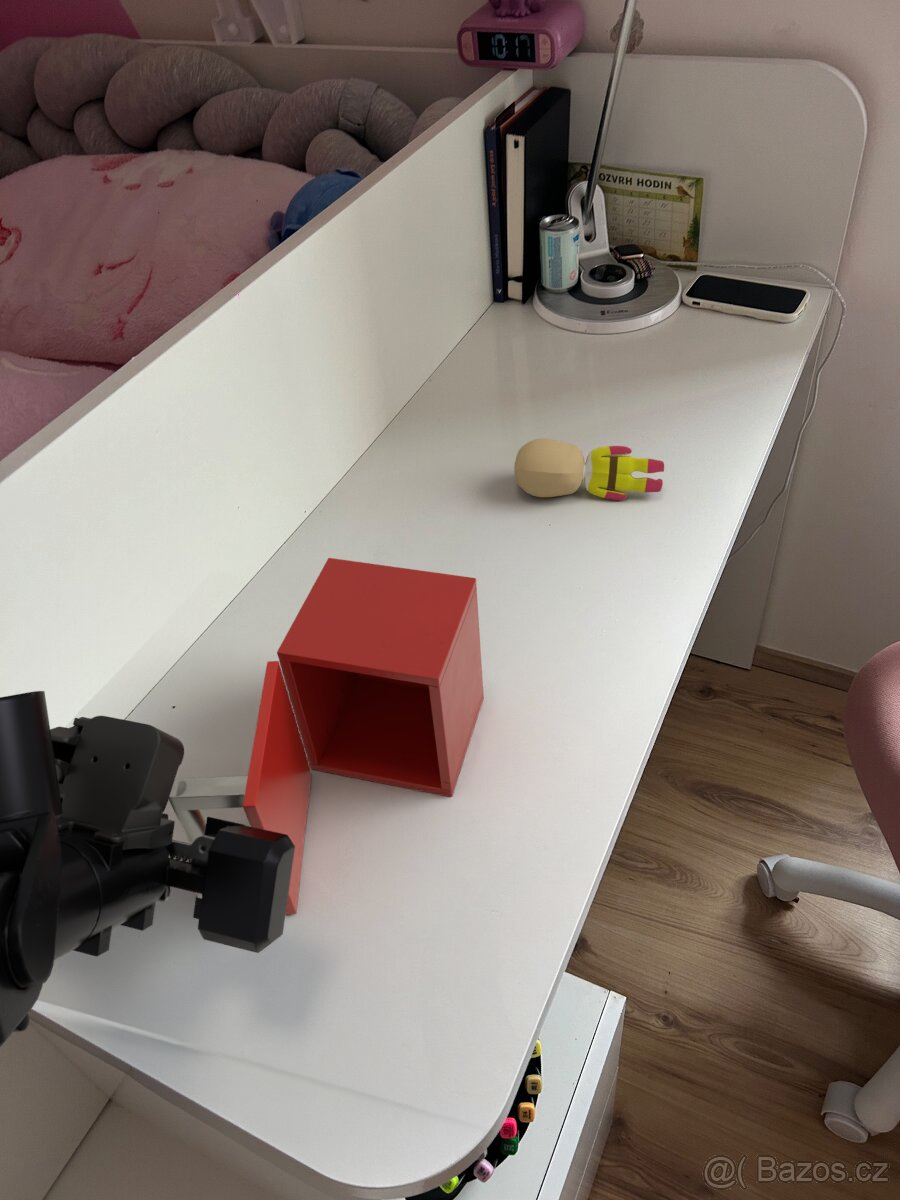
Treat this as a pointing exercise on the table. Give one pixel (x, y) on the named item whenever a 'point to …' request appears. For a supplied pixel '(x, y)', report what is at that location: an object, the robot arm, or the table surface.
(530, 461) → the toy
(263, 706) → the red cabinet door
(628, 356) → the table surface
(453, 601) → the cabinet
